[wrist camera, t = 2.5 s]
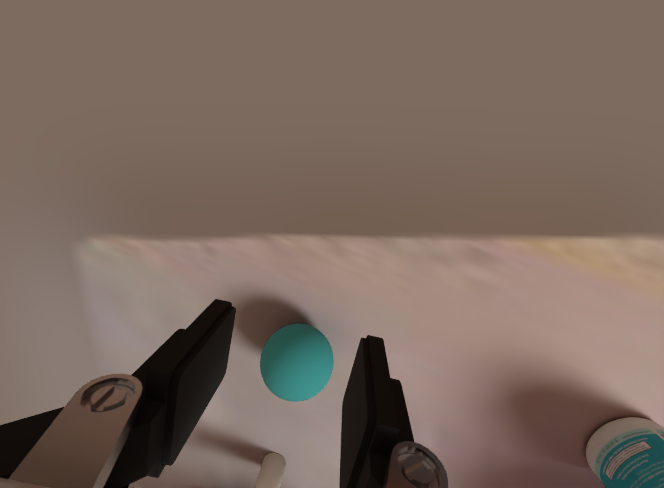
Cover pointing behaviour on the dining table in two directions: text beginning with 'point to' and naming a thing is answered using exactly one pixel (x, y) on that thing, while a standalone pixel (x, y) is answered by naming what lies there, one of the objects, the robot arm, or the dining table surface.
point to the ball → (296, 362)
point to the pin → (271, 471)
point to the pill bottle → (628, 454)
